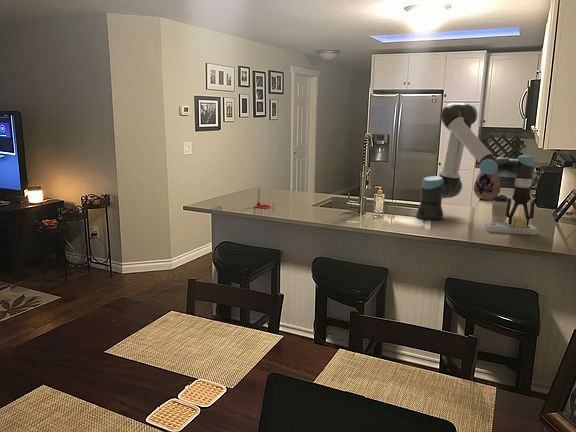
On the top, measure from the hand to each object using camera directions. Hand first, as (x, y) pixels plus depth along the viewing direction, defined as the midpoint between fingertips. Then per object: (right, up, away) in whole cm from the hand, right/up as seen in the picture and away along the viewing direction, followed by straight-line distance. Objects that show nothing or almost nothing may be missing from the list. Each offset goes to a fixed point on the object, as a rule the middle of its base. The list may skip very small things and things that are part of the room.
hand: (517, 230), depth 248 cm
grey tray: (-3, 0, +1) cm, 4 cm away
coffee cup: (-1, +4, +20) cm, 21 cm away
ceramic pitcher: (+23, +20, +94) cm, 99 cm away
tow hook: (-133, +13, +51) cm, 143 cm away
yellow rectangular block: (0, 0, 0) cm, 1 cm away
